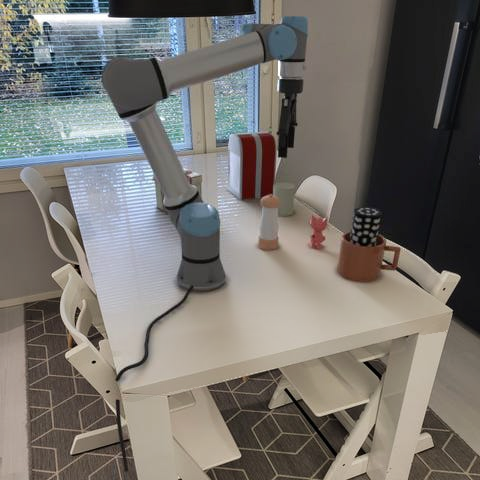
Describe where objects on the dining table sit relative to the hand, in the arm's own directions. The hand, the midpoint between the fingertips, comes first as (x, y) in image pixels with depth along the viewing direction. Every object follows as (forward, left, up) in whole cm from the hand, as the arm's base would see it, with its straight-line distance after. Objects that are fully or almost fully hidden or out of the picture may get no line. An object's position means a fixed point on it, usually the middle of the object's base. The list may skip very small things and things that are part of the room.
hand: (285, 152), depth 153 cm
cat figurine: (+9, -12, -35) cm, 38 cm away
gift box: (+32, +50, -35) cm, 69 cm away
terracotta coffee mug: (-8, -30, -35) cm, 47 cm away
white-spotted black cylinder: (-8, -28, -34) cm, 45 cm away
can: (+42, +6, -35) cm, 55 cm away
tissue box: (+64, +25, -35) cm, 77 cm away
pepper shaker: (+5, +5, -35) cm, 36 cm away
